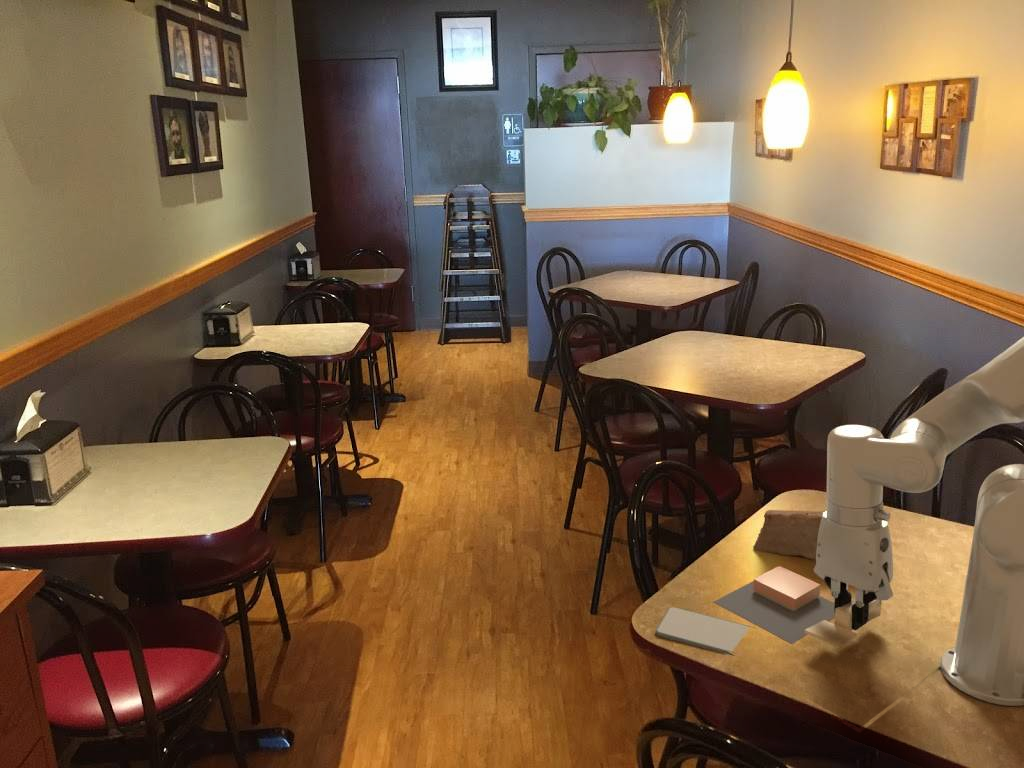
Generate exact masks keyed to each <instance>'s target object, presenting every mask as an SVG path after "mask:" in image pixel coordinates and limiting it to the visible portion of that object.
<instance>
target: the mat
mask: <svg viewBox="0 0 1024 768" xmlns="http://www.w3.org/2000/svg"><path fill="white" fill-rule="evenodd" d="M753 581H754V580H753ZM753 581H750V582H748V583H747V584H745V585H743V586H741V587H739V588H737V589H735V590H733V591H731V592H729V593H728V594H725V595H724V596H722V597H720V598H718V599H716V600H714V601H713V603H714V604H716V605H718V606H720V607H722V608H723V609H726V610H727V611H729V612H731V613H733V614H734V615H736V616H738V617H741V618H742V619H744V620H746V621H748V622H750V623H752V624H753V625H755V626H757V627H759V628H761V629H763V630H764V631H767V632H769V633H770V634H772V635H774V636H776V637H777V638H780V639H782V640H783V641H785V642H787V643H789V644H794V643H795V642H798V641H799V640H800V639H802V638H803V637H806V636H808V634H806V633H805V629H807V628H809V627H811V626H813V625H815V624H817V623H819V622H821V621H823V620H826V621H828V622H830V621H832V620H833V619H835V612H834V603H835V602H834V601H831V600H828V599H827V598H824V597H823V596H820V595H819V596H818V598H816V599H814V600H813V601H811V602H809V603H807V604H806V605H804V606H802V607H801V608H799V609H797V610H795V611H794V612H793V611H791V610H789V609H787V608H785V607H783V606H781V605H779V604H777V603H775V602H773V601H771V600H769V599H767V598H765V597H763V596H761V595H759V594H757V593H755V592H754V591H755V590H753Z"/></svg>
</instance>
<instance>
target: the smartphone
mask: <svg viewBox="0 0 1024 768" xmlns="http://www.w3.org/2000/svg"><path fill="white" fill-rule="evenodd" d="M750 628H754V629H756V627H754V626H750V625H746V624H742V623H738V622H735V621H730V620H727V619H723V618H718V617H717V616H716V617H715V616H711V615H708V614H704V613H700V612H696V611H692V610H688V609H685V608H680V607H676V606H670V607H668V608H667V610H666V612H665V613H664V615H663V617H662V618H661V620H660V622H659V623H658V625H657V627H656V629H655V634H656V636H658V637H659V638H660V637H661V638H665V639H668V640H671V641H672V640H673V641H676V642H680V643H683V644H687V645H691V646H695V647H699V648H703V649H706V650H710V651H714V652H718V653H722V654H725V655H730V656H733V657H736V655H735V654H736V652H735V651H734V650H735V648H736V647H737V645H738V644H739V643H740V641H741V640H742V639H743V637H744V636H745V635H746V633H747V632H748V631H749V629H750ZM733 653H734V654H733ZM737 654H738V655H739V654H740V653H739V652H738V653H737Z"/></svg>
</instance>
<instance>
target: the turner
mask: <svg viewBox="0 0 1024 768" xmlns="http://www.w3.org/2000/svg"><path fill="white" fill-rule="evenodd" d="M882 601H883V600H874V601H872V602H870V603H869V614H868V622H869V623H870V621H872V620H874V619H876V618H878V617H880V616H881V615H882V613H881V610H882ZM853 604H855V598H854V599H851V602H850V603H848V604H846V605H844V606H842V607H838V608H836V609H835V618H834V621H833V622H834V623H833V622H830V621H826V620H823V621H821V622H819V623H817V624H815V625H813V626H811V627H809V628H807V629H805V633H806V634H807V636H810V637H813V638H815V639H817V640H820V641H823V642H824V643H827V644H829V645H831V646H833V647H835V648H840V647H842V646H844V645H846V644H847V643H850V642H851V641H853V640H855V639H857V638H859V633H857V632H855V631H854V630H853V629H852V612H851V607H852V605H853ZM868 622H867V623H868Z"/></svg>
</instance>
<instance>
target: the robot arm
mask: <svg viewBox="0 0 1024 768" xmlns="http://www.w3.org/2000/svg"><path fill="white" fill-rule="evenodd" d="M1023 422H1024V336H1022V337H1021V338H1020V339H1019V340H1017V341H1016V342H1014V343H1013V344H1012V345H1010V346H1009V347H1008V348H1007V349H1005V350H1004V351H1002V353H999V354H998V355H997V356H995V357H994V358H993V359H991V360H990V361H989V362H988V363H986V364H985V365H983V366H982V367H980V368H979V369H978V370H976V371H975V372H972V373H971V374H969V375H967V376H966V377H965V378H963V379H962V380H960V381H958V382H957V383H955V384H954V385H951V386H950V387H948V388H947V389H946V390H944V391H942V392H941V393H939V394H938V395H936V396H935V397H933V398H932V399H931V400H930V401H928V402H927V403H925V404H924V405H922V407H920V408H919V409H918V410H916V411H915V412H913V413H912V414H911V415H909V416H908V417H907V418H906V419H905V420H903V421H901V423H899V425H898V426H896V428H895V429H894V430H893V432H892V434H891V436H890V438H885V437H884V436H883V434H882V433H881V431H880V430H878V429H876V428H875V427H871V426H868V425H862V424H844V425H840V426H837V427H835V428H833V429H832V430H831V431H830V432H829V433H828V436H827V449H826V451H827V452H826V460H827V463H826V506H825V507H826V510H825V511H826V512H824V513H823V516H822V519H821V523H820V527H819V533H818V540H817V550H816V559H815V561H816V563H815V565H814V568H813V572H814V574H815V575H817V576H818V577H819V578H820V579H822V580H823V582H824V583H825V584H826V585H827V586H828V588H829V590H830V595H831V596H832V597H833V598H834V602H833V603H834V612H835V609H836V608H838V607H842V606H844V605H846V604H848V603H850V602H851V601H852V600H853V599H852V597H853V595H852V592H850V591H849V586H852V587H854V588H855V591H854V592H855V595H854V596H855V597H854V599H855V604H853V605H852V607H851V612H852V629H853V630H852V631H857V630H859V629H860V628H862V627H863V626H864V625H867V623H868V614H869V603H870V602H872V601H874V600H882V601H888V600H889V599H891V598H892V597H894V593H893V590H892V586H891V584H890V583H891V582H892V581H893V578H894V562H893V559H894V558H893V547H892V545H893V544H892V539H891V531H890V529H889V524H888V522H889V521H890V520H891V512H889V511H886V510H884V502H883V500H884V499H883V495H884V493H883V492H884V487H887V488H889V489H892V490H895V491H900V492H904V493H911V494H920V493H924V492H925V493H926V492H928V491H930V490H932V489H933V488H935V487H936V486H937V484H939V483H940V481H941V479H942V476H943V474H944V473H943V471H944V469H945V468H944V467H945V463H946V459H947V457H948V455H950V454H951V453H952V452H954V451H955V450H956V449H958V448H959V447H960V446H962V445H964V444H965V443H966V442H968V441H969V440H971V439H972V438H973V437H975V436H977V435H978V434H980V433H982V432H983V431H986V430H987V429H990V428H992V427H995V426H999V425H1003V424H1019V423H1023ZM974 519H975V521H974V527H973V534H972V539H971V546H970V554H969V560H968V568H967V573H966V578H965V585H964V591H963V597H962V605H961V609H960V616H959V622H958V629H957V635H956V642H955V646H953V647H952V646H951V648H948V649H947V650H945V651H944V652H943V653H942V655H941V658H940V670H941V673H942V674H943V676H944V677H945V679H946V680H947V681H948V682H949V683H950V684H952V685H953V686H954V687H955V688H957V689H958V690H960V691H962V692H963V693H965V694H966V695H968V696H970V697H971V696H972V697H973V698H975V699H977V700H981V701H982V702H983V701H984V702H987V703H991V704H994V705H1002V706H1007V707H1008V706H1010V707H1019V706H1024V464H1023V463H1014V464H1008V465H1004V466H1001V467H999V468H997V469H995V470H994V471H992V472H991V473H990V474H988V476H986V478H985V479H984V481H983V482H982V484H981V486H980V488H979V492H978V495H977V502H976V511H975V518H974Z"/></svg>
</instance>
